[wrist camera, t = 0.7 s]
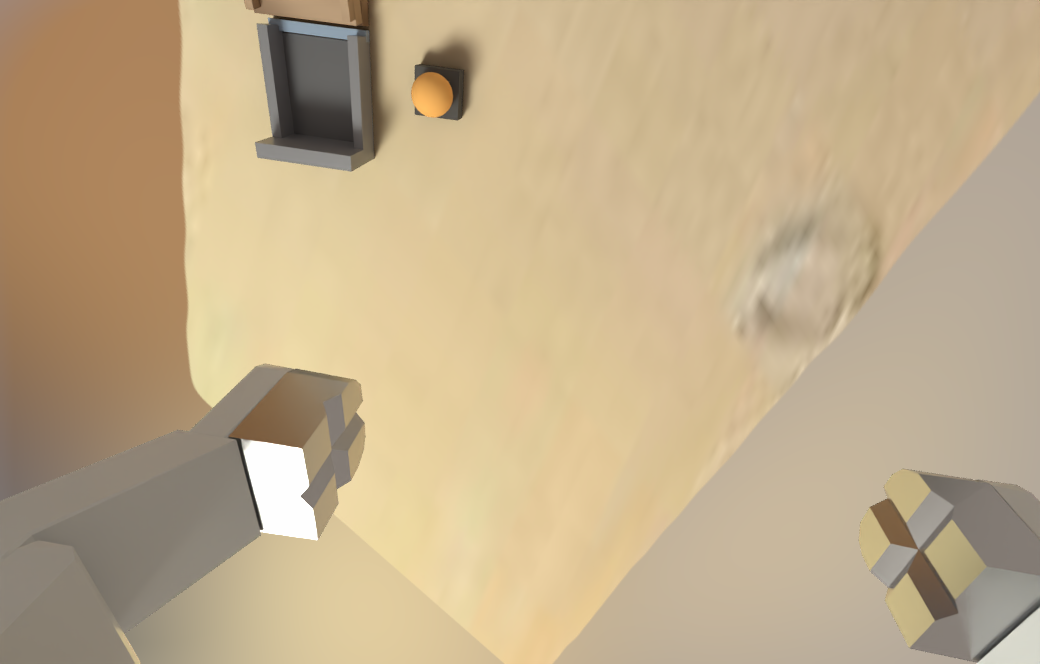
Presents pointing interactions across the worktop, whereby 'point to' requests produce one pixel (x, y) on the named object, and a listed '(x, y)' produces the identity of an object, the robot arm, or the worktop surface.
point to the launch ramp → (315, 10)
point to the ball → (432, 94)
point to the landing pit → (317, 94)
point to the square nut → (455, 82)
